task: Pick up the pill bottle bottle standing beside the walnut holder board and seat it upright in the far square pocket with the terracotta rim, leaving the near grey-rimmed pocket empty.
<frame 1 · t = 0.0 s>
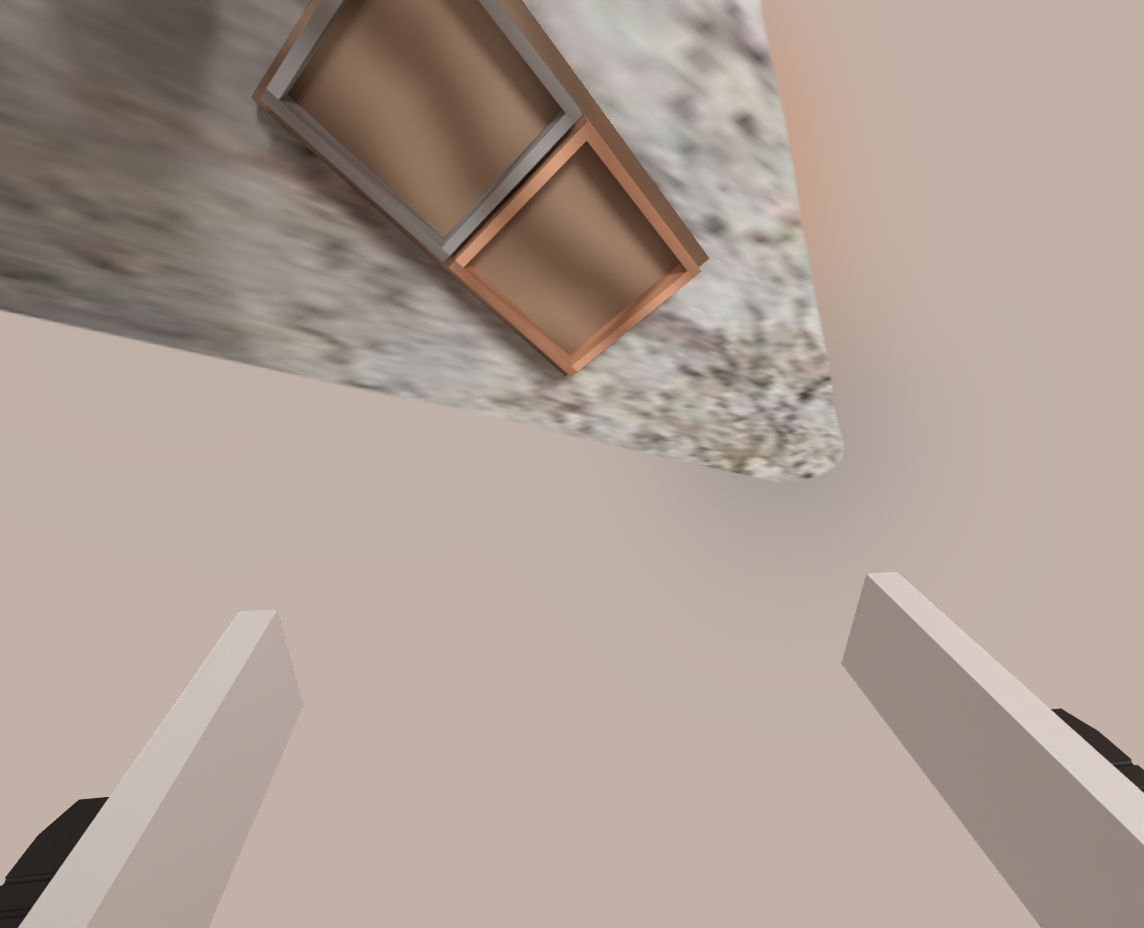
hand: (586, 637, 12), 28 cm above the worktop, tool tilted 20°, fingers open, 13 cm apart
holder board: (509, 182, 31), on the worktop
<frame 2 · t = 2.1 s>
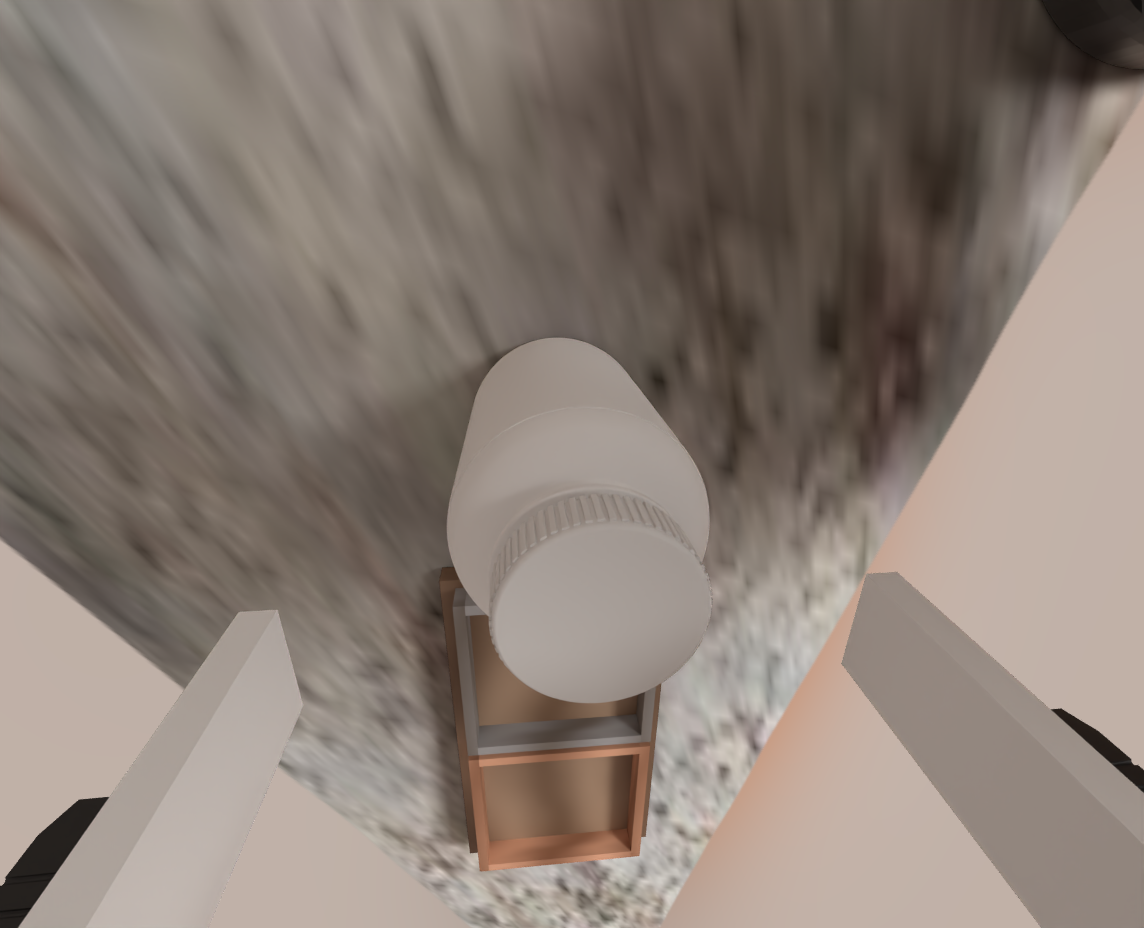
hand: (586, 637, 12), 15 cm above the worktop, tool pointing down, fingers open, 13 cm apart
pill bottle: (555, 413, 26), on the worktop
holder board: (557, 713, 34), on the worktop
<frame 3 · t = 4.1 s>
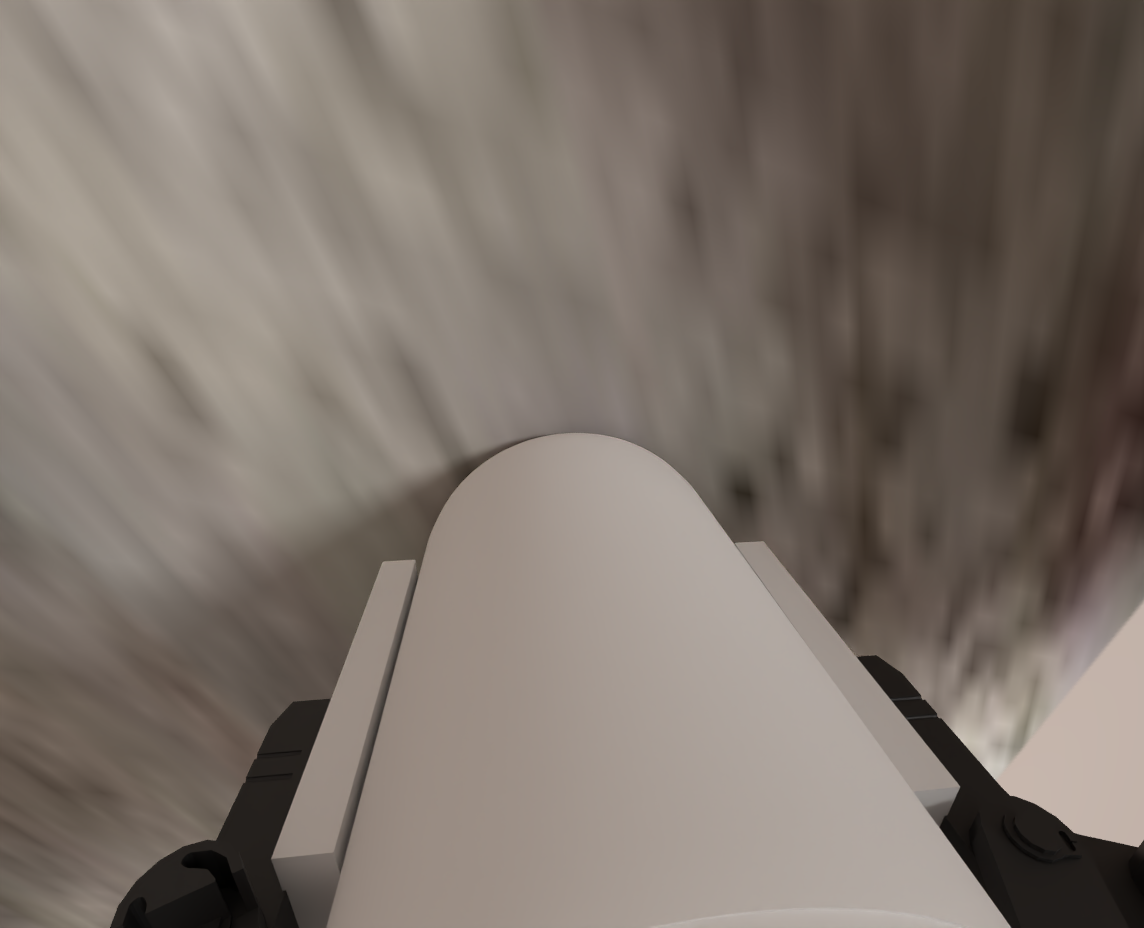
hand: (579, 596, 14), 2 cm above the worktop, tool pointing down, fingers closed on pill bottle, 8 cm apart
pill bottle: (569, 548, 16), on the worktop, touching gripper
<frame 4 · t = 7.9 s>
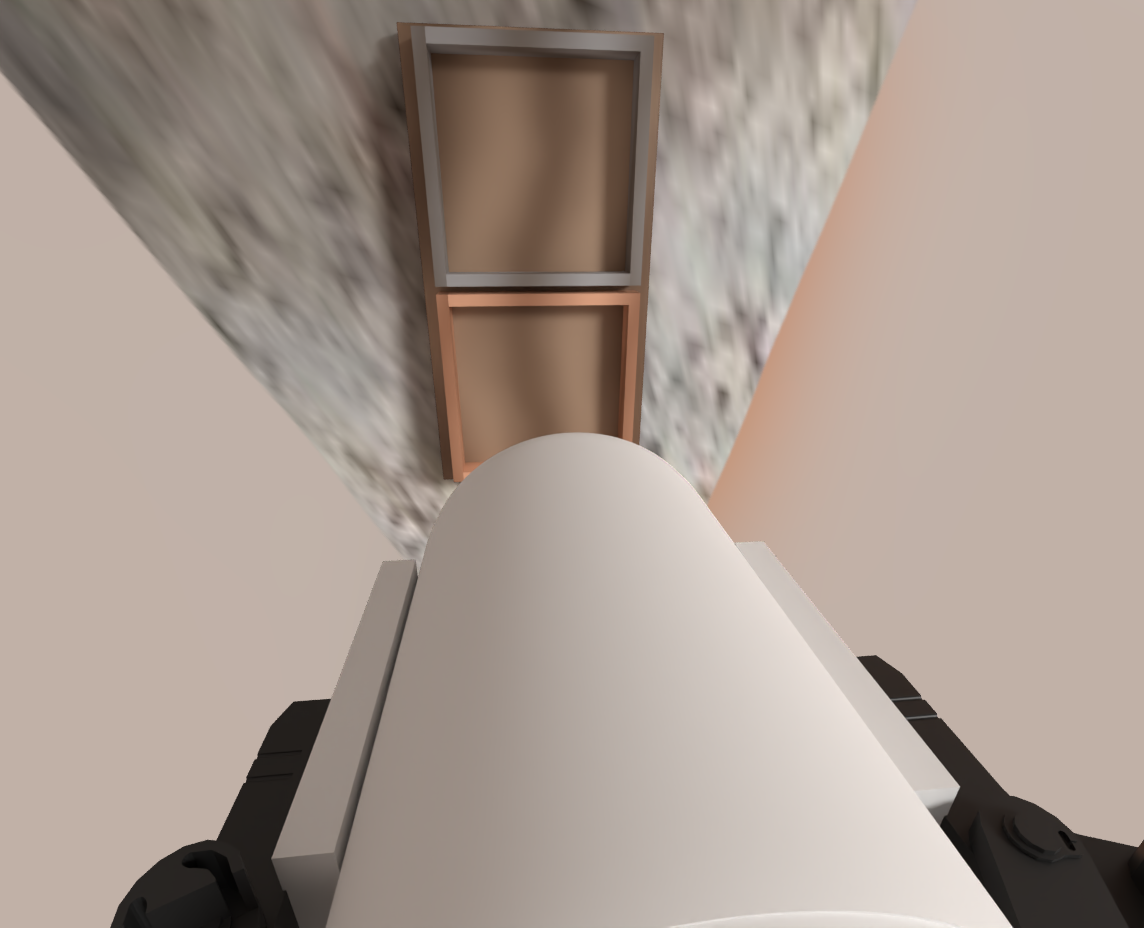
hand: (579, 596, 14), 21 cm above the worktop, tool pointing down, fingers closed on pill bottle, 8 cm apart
pill bottle: (569, 548, 16), point 19 cm above the worktop, touching gripper
holder board: (537, 284, 31), on the worktop
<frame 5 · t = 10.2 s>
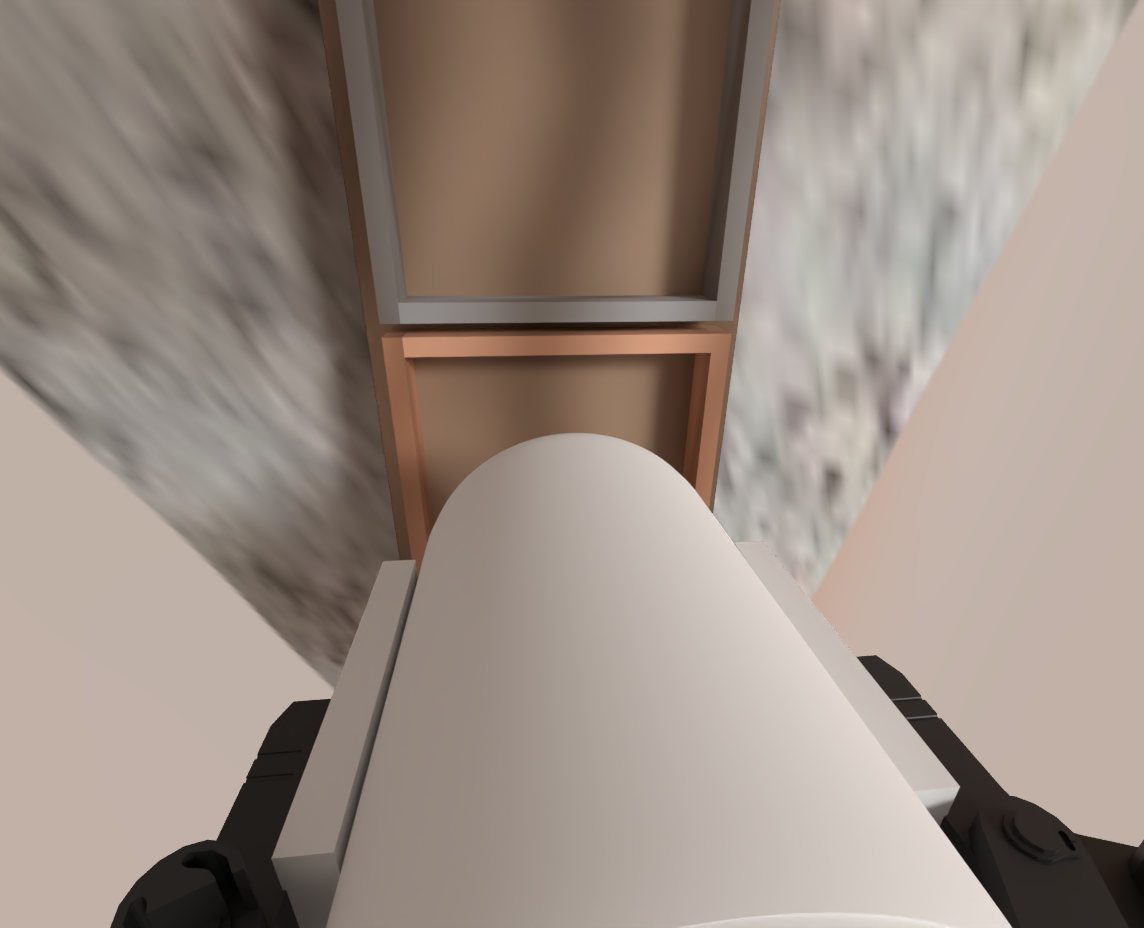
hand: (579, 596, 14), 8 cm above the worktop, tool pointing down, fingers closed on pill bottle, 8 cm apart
pill bottle: (569, 548, 16), point 6 cm above the worktop, touching gripper
holder board: (555, 315, 19), on the worktop
when the fingers open (4 cm above the worktop, at t = 11.9 s): pill bottle drops 1 cm, resting on holder board.
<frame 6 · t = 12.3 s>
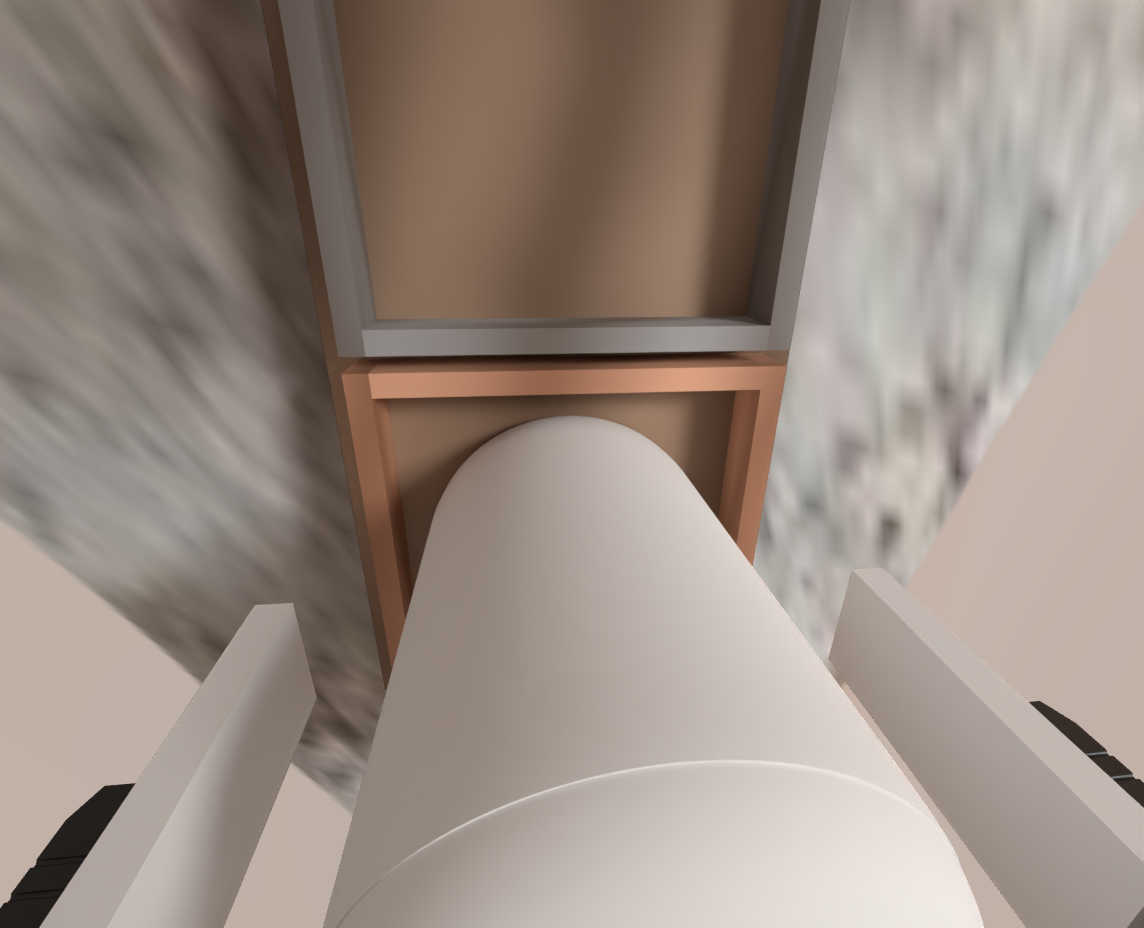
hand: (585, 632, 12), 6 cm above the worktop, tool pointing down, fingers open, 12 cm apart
pill bottle: (565, 526, 17), point 1 cm above the worktop, touching holder board
holder board: (563, 339, 15), on the worktop
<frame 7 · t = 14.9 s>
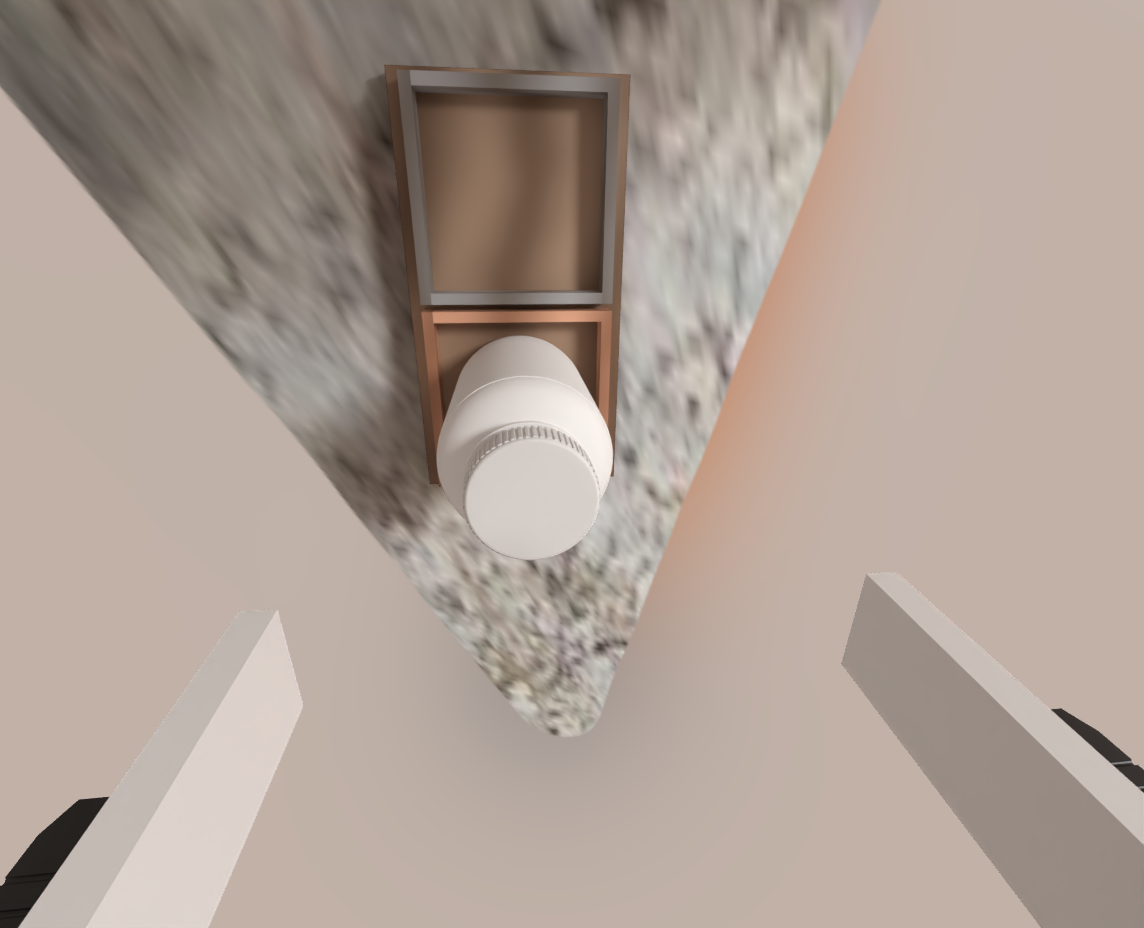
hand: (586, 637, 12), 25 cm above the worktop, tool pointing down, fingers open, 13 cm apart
pill bottle: (520, 394, 34), point 1 cm above the worktop, touching holder board
holder board: (517, 302, 33), on the worktop
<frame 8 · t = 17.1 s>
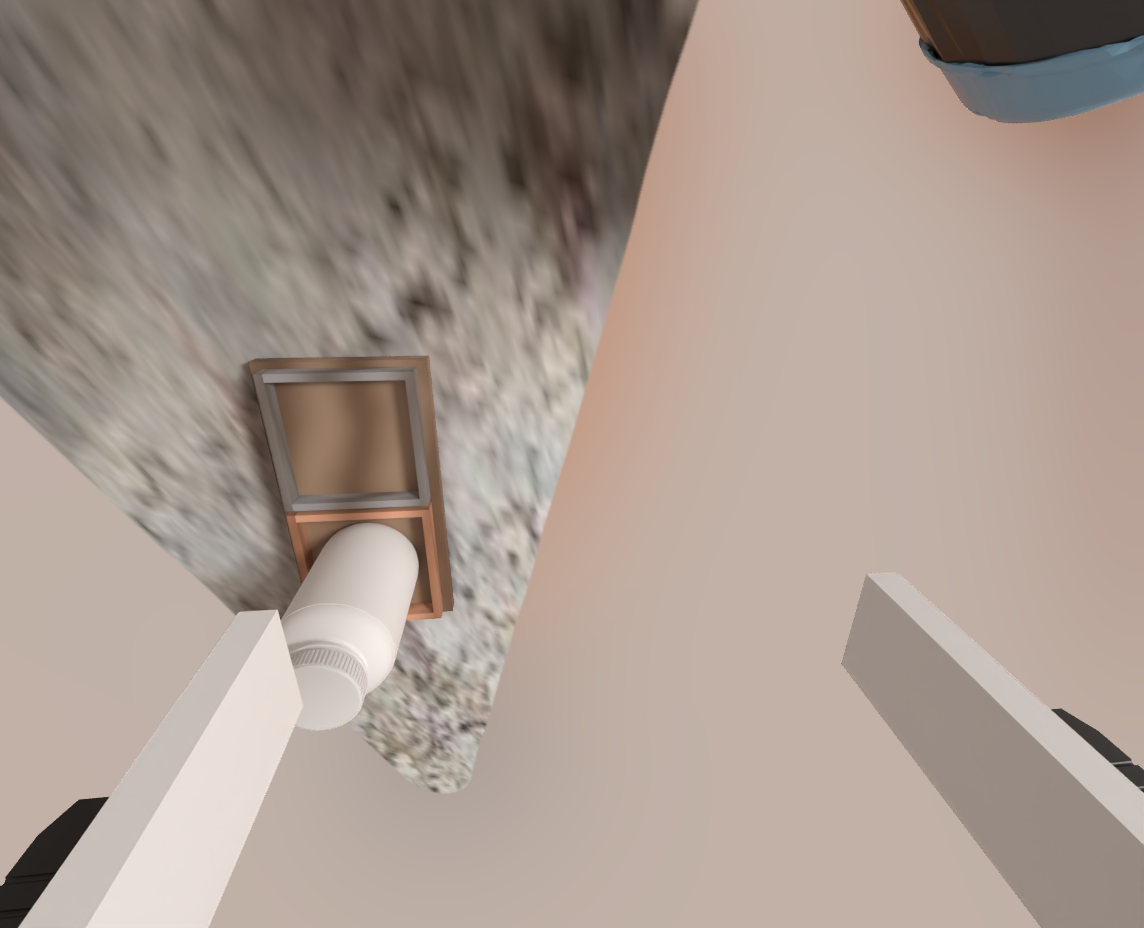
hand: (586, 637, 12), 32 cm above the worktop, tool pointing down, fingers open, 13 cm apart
pill bottle: (373, 558, 46), point 1 cm above the worktop, touching holder board
holder board: (366, 495, 44), on the worktop
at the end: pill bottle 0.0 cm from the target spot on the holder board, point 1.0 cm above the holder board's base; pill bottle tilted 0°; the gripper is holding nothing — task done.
